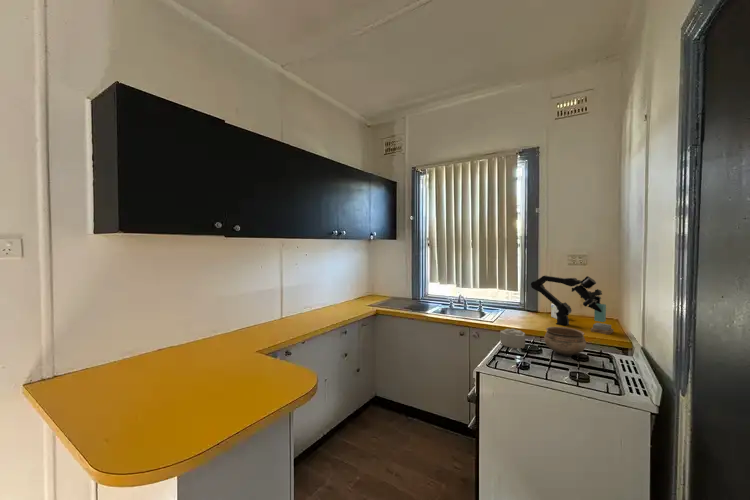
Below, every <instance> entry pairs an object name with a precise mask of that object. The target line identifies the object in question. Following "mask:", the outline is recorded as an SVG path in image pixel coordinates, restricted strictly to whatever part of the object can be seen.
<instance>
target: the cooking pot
mask: <svg viewBox="0 0 750 500" xmlns="http://www.w3.org/2000/svg"><path fill="white" fill-rule="evenodd" d="M545 330H546V332H545V334H544V338H543V339H544V342H545V345H546V346H547V347H548V348H549V349H550V350H552V351H553V352H555V353H556V354H558V355H560V356H565V357H571V356H575V355H578V354H581V353H582V352H583V351H584V350H585V349H586V347H587V341H586V339H585V336H584V335H585V332H584V331H582V330H579V329H576V328H571V327H566V326H565V327H564V326H550V327H549V326H548V327H545Z"/></svg>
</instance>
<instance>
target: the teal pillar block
mask: <svg viewBox="0 0 750 500" xmlns="http://www.w3.org/2000/svg"><path fill="white" fill-rule="evenodd" d="M597 306H598V307H599V308H600V309H601V311H602V312H599V311H596V310H594V309H593V310H594V311H593V312H594V313H593V316H594V321H595V322H599V323H601V322H602V323H604V322H606V321H607V317H606V315H607V310H606V309H607V305H606V304H605V303H601V304H597Z"/></svg>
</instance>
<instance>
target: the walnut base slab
mask: <svg viewBox="0 0 750 500" xmlns="http://www.w3.org/2000/svg"><path fill="white" fill-rule="evenodd" d="M590 332H594V333H597V334H603V335H611V334H612V333H614V328H611V329H610V330H608V331H605V330H599V329H594V328H593V327H590Z"/></svg>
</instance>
